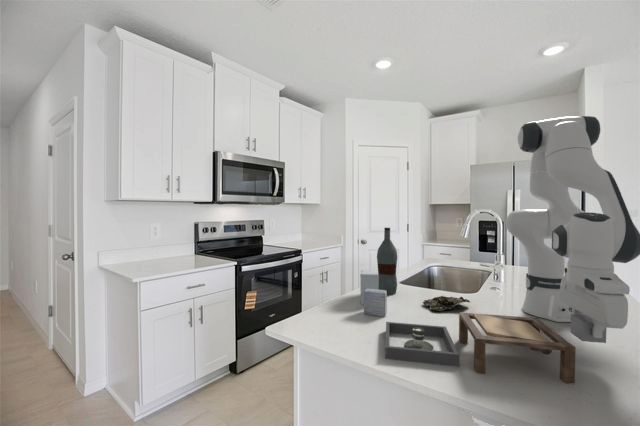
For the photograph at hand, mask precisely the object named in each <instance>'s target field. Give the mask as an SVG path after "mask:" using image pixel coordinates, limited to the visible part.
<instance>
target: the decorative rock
mask: <svg viewBox="0 0 640 426" xmlns="http://www.w3.org/2000/svg"><path fill="white" fill-rule="evenodd" d="M462 303H471V301H470V299H467V298H465V299H464V297H462V296H460V297H454V296H444V295H440V296H436V297H432V298H431V299H425V300H423V301H422V304H423V305H425V306H428V307H429V309H430V311H434V312H443V311H444V310H448V311H449V310H450V311H451V310H452V309H455V308H456V306H457V305H459V304H462Z"/></svg>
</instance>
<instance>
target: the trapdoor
mask: <svg viewBox="0 0 640 426" xmlns="http://www.w3.org/2000/svg"><path fill="white" fill-rule="evenodd" d="M477 314H478V313H475V314H473V317H474V319H473V320H475V321H476V322H477V324H478V326H479V327H480V328H481V330H482V331H483V332H484V333H485V336H489V337H501V338H512V339H523V340H535V341H546V342H551V341H550V340H549V339H548V338H547V337H545V336H544V335H543V334H542V333H541V331H540V332H538V331H537V330H536V329H535V328H534V327H532V326H531V325H530V324H529V323H528V322H523V321H516V320H510V319H503V318H497V317H490V316H484V315H477ZM538 351H539V352H541V354H544V355H549V354H551V353H553V350H549V349H539V350H538Z"/></svg>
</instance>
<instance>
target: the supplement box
mask: <svg viewBox="0 0 640 426" xmlns="http://www.w3.org/2000/svg"><path fill="white" fill-rule="evenodd" d="M359 276H360V305H364V291H365V290H366V289H377V290H379V275H378V270H360V275H359Z"/></svg>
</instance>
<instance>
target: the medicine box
mask: <svg viewBox="0 0 640 426" xmlns="http://www.w3.org/2000/svg"><path fill="white" fill-rule="evenodd" d="M387 298H388V295H387V291H386V290H377V289H366V290H365V291H364V304H363V315H369V316H376V317H378V316H379V317H386V315H387V313H388V312H387V311H388V310H387V309H388V307H387V306H388V305H387Z"/></svg>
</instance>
